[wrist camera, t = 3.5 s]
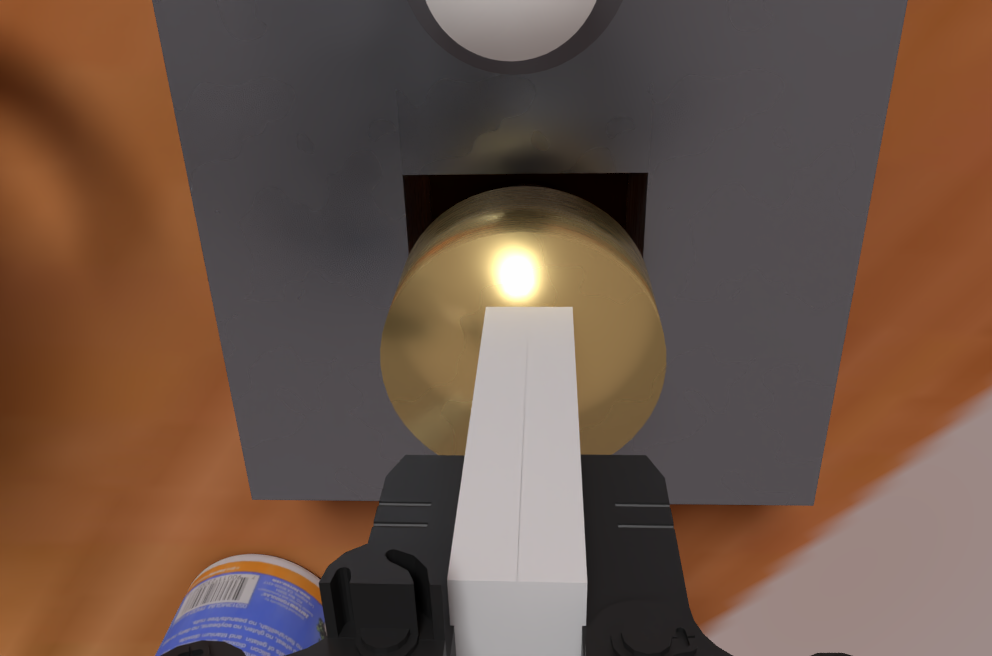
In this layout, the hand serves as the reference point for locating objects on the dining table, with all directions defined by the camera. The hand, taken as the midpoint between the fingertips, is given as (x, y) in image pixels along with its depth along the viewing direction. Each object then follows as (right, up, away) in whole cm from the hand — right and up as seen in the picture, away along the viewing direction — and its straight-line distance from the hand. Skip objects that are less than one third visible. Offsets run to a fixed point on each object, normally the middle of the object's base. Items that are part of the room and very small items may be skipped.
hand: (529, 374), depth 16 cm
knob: (0, +3, +6) cm, 7 cm away
